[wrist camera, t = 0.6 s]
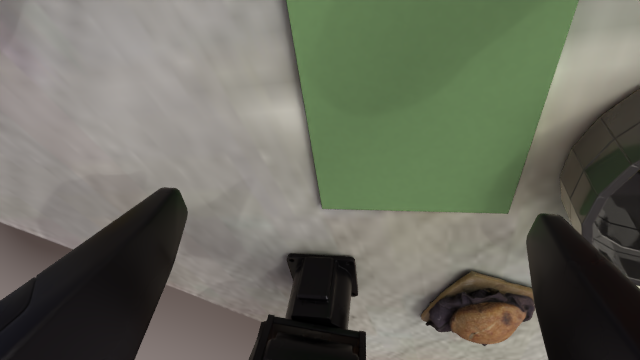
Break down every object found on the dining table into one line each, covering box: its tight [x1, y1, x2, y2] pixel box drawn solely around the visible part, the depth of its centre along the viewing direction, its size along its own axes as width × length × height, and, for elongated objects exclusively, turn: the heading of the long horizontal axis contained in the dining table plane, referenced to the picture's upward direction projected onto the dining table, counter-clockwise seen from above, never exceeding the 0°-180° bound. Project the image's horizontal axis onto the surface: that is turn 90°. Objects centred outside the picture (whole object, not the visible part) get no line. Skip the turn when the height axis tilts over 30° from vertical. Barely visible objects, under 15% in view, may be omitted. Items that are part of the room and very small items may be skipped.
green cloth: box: [286, 0, 579, 214], centre depth 23 cm, size 20×14×1 cm
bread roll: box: [421, 271, 535, 346], centre depth 37 cm, size 11×8×4 cm
